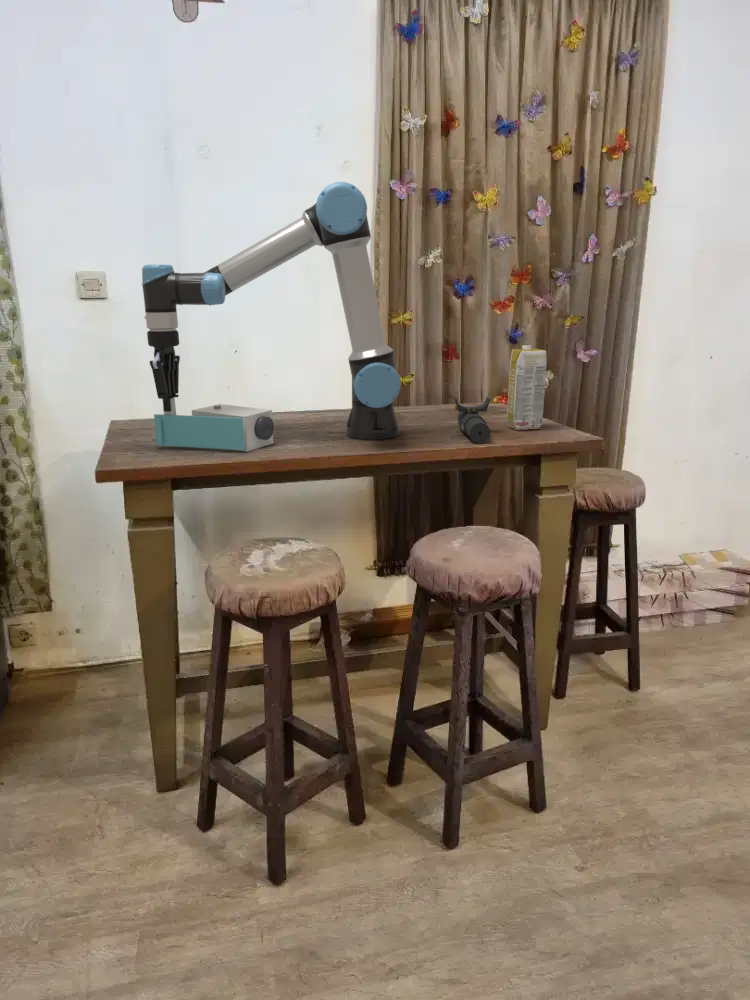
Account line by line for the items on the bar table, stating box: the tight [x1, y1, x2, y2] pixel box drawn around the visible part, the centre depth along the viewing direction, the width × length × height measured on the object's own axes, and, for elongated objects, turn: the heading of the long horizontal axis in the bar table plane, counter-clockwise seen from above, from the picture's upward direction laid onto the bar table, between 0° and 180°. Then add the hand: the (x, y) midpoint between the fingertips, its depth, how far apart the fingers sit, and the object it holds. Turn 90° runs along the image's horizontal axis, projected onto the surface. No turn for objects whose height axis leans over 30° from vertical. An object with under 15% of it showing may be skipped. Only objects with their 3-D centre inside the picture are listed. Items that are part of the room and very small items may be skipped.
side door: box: [153, 413, 247, 451], centre depth 185 cm, size 24×2×8 cm, turn 79°
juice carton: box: [506, 344, 548, 428], centre depth 210 cm, size 9×8×24 cm
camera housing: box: [191, 403, 275, 453], centre depth 192 cm, size 20×11×10 cm, turn 60°
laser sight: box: [453, 396, 492, 443], centre depth 204 cm, size 10×22×10 cm, turn 2°
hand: (170, 423), depth 187 cm, fingers closed
